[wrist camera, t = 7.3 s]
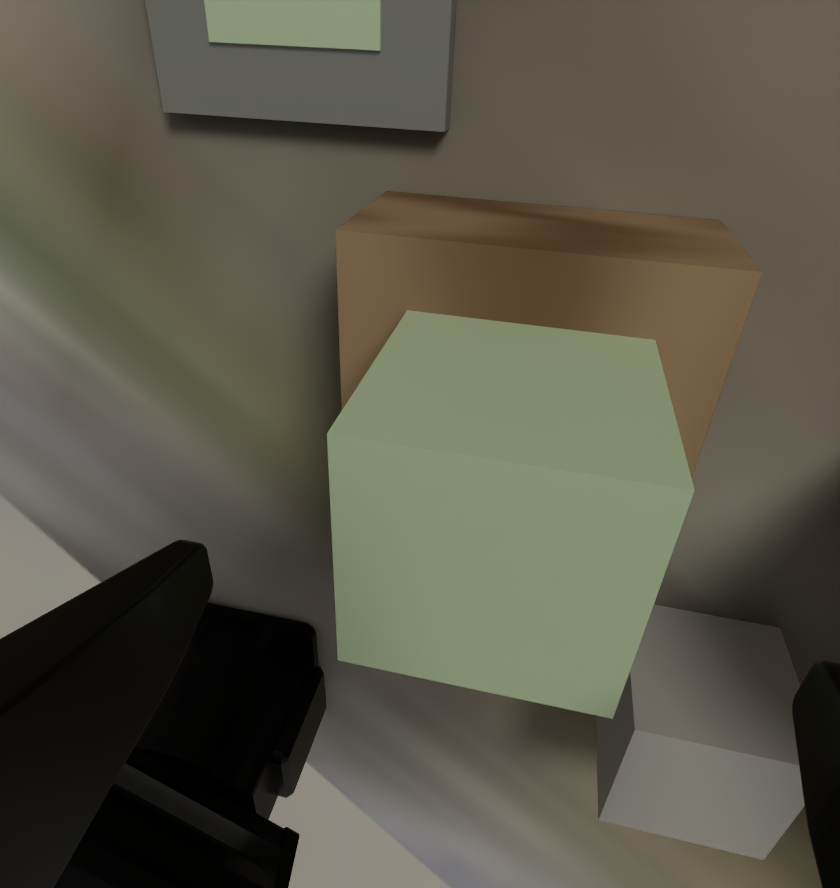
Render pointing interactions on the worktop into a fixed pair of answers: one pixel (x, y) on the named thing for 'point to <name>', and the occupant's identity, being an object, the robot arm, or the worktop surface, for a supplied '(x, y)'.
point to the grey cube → (704, 735)
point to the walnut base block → (550, 283)
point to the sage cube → (505, 508)
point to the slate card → (307, 60)
